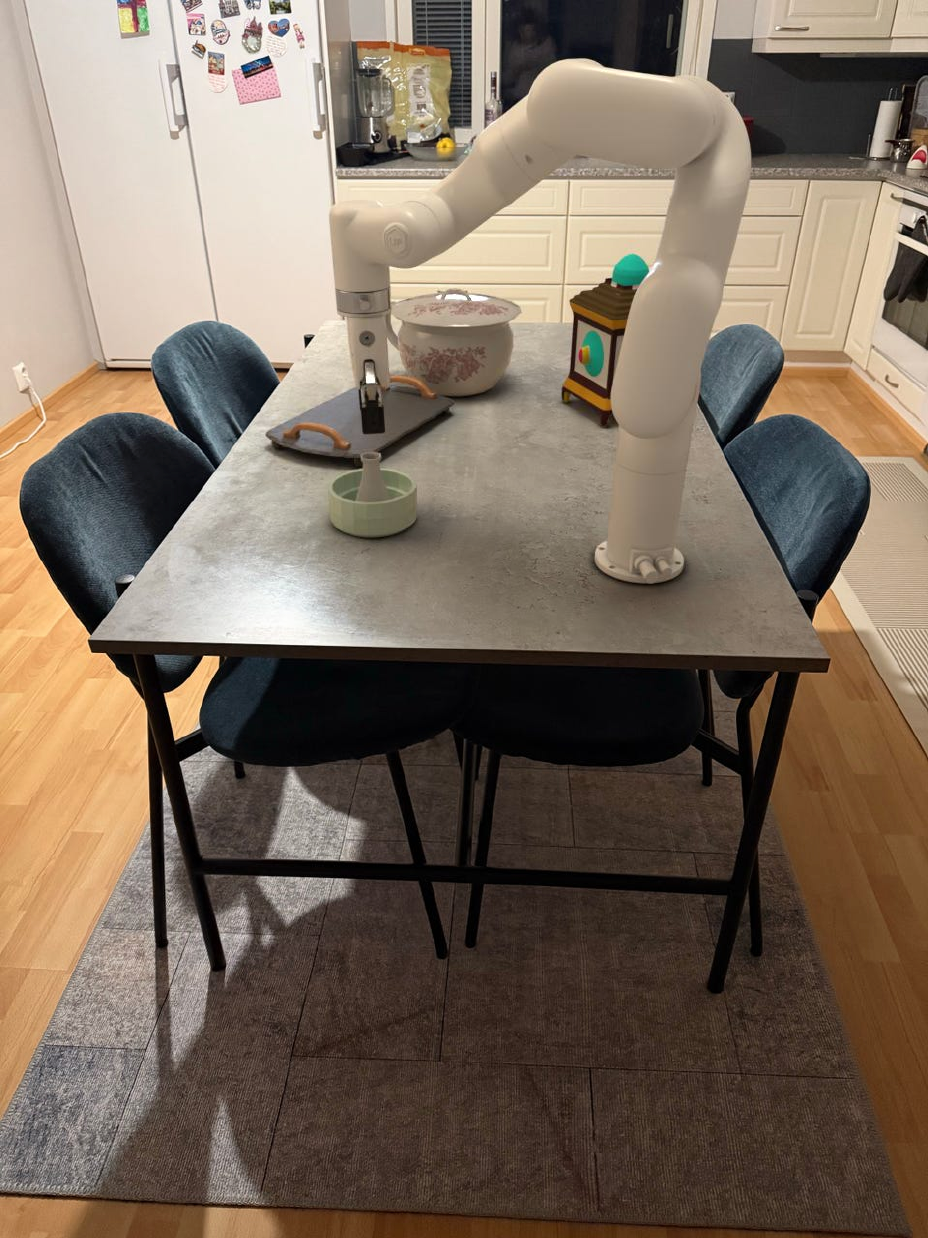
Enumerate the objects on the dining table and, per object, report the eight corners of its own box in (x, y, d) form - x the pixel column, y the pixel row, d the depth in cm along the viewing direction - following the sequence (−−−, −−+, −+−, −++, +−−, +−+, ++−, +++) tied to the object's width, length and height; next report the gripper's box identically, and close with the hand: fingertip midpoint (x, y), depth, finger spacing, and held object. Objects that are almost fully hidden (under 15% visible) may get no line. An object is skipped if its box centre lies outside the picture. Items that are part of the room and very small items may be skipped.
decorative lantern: (551, 400, 190) (560, 247, 174) (632, 388, 196) (648, 241, 180) (600, 431, 174) (615, 267, 158) (686, 418, 181) (708, 259, 165)
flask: (390, 528, 137) (387, 466, 132) (344, 523, 138) (340, 462, 133) (402, 508, 143) (400, 448, 138) (358, 504, 144) (354, 444, 139)
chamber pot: (541, 397, 191) (546, 296, 180) (420, 415, 181) (418, 309, 170) (484, 362, 212) (486, 269, 201) (374, 376, 203) (369, 279, 192)
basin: (420, 537, 136) (419, 501, 133) (331, 542, 135) (328, 506, 131) (413, 500, 147) (412, 465, 144) (330, 504, 146) (327, 469, 143)
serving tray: (369, 392, 193) (367, 363, 190) (464, 410, 184) (465, 380, 181) (253, 452, 164) (249, 420, 161) (360, 477, 155) (358, 443, 152)
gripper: (395, 314, 116) (402, 441, 125) (387, 285, 131) (393, 401, 140) (337, 317, 116) (348, 444, 125) (335, 288, 130) (345, 403, 139)
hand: (372, 421), depth 132 cm, fingers open, 9 cm apart
